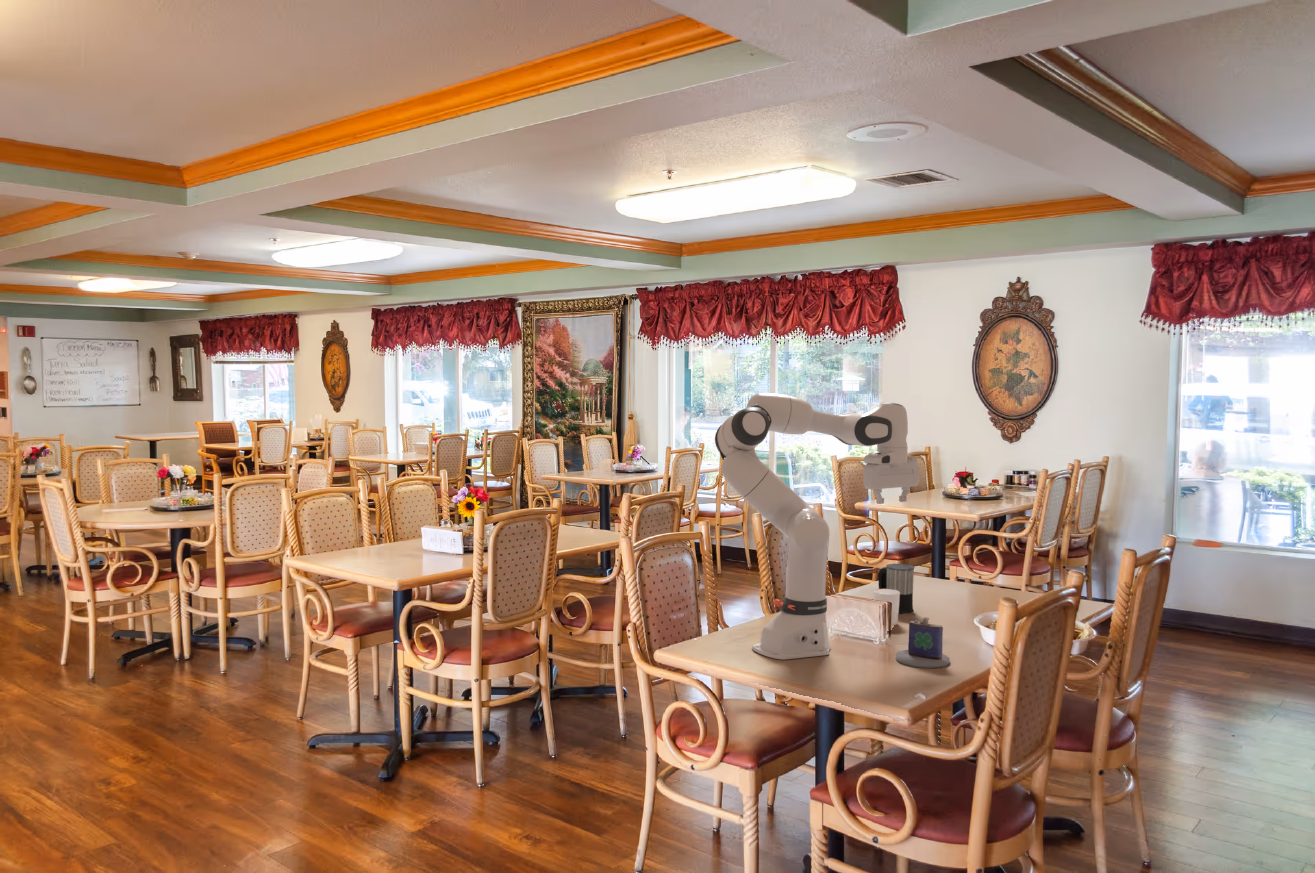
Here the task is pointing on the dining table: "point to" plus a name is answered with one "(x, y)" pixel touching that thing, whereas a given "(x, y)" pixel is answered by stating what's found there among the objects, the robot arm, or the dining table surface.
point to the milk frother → (899, 583)
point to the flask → (925, 639)
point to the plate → (921, 660)
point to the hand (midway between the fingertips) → (891, 502)
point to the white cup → (891, 597)
